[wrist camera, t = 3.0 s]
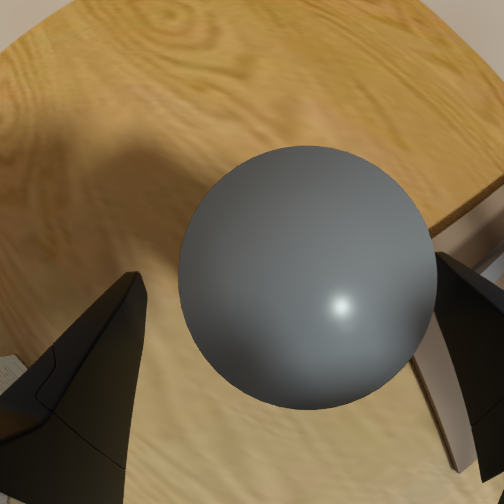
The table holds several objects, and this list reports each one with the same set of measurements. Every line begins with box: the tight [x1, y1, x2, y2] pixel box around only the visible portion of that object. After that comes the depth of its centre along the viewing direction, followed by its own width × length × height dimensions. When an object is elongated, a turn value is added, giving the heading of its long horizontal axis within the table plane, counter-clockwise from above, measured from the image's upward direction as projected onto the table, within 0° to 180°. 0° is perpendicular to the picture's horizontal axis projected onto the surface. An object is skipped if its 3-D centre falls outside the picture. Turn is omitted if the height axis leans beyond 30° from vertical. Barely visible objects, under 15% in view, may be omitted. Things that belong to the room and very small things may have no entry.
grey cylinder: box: [178, 146, 437, 410], centre depth 11 cm, size 5×5×11 cm
